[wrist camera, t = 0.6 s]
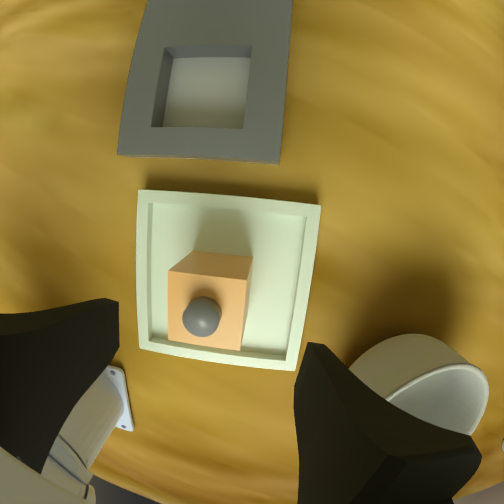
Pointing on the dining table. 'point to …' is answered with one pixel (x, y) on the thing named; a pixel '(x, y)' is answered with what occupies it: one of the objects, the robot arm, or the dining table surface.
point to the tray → (233, 243)
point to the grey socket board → (208, 81)
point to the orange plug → (209, 299)
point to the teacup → (426, 380)
